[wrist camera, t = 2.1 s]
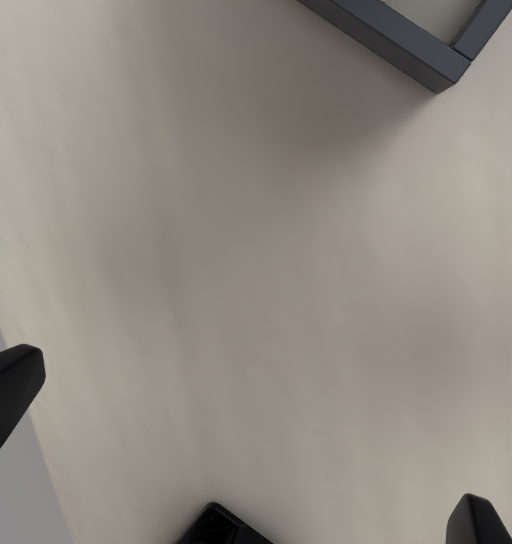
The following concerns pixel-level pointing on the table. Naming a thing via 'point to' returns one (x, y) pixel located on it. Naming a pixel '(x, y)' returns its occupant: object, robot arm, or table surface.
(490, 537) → the robot arm
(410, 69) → the bin
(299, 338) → the table surface
